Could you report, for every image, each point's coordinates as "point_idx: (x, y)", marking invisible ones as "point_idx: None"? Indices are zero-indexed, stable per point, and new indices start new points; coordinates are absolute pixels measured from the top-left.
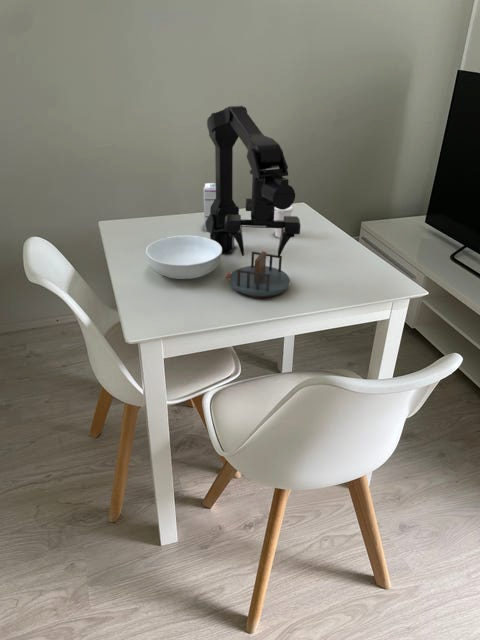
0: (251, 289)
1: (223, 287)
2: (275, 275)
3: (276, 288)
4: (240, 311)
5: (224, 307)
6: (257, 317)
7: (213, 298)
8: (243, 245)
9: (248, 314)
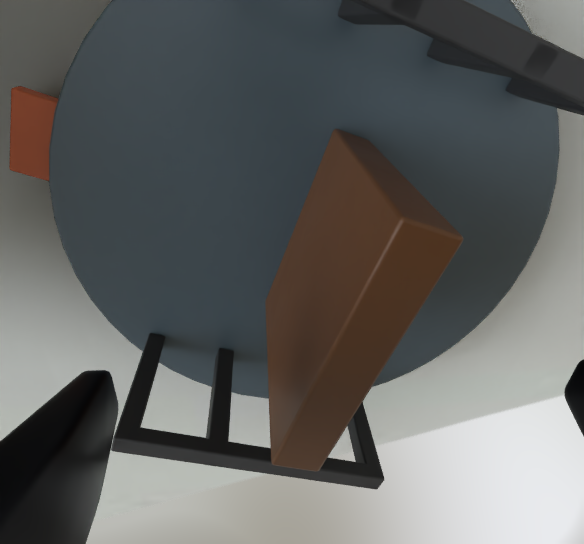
0: (248, 377)
1: (47, 234)
2: (454, 171)
3: (407, 355)
4: None
5: None
6: None
7: (31, 360)
8: (37, 518)
9: None
